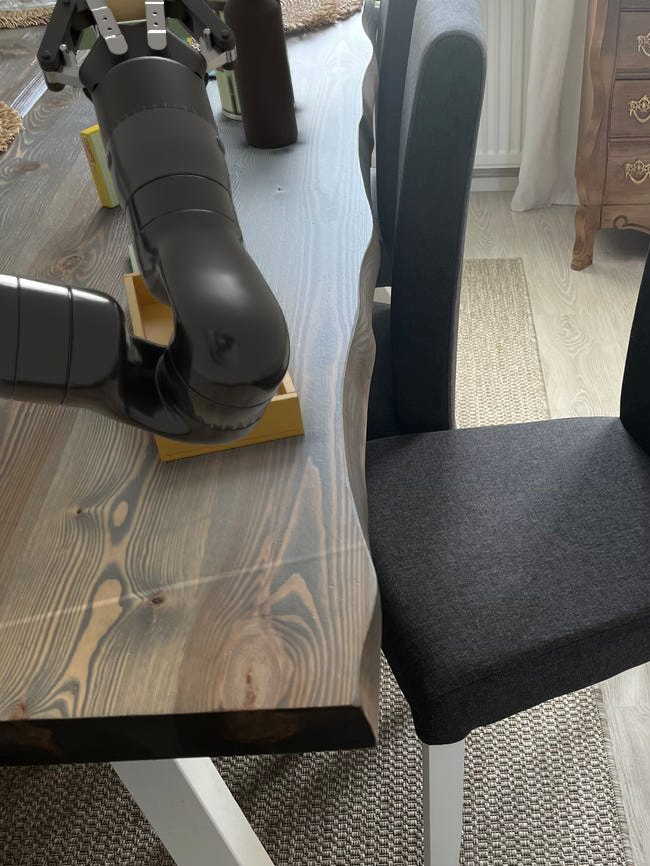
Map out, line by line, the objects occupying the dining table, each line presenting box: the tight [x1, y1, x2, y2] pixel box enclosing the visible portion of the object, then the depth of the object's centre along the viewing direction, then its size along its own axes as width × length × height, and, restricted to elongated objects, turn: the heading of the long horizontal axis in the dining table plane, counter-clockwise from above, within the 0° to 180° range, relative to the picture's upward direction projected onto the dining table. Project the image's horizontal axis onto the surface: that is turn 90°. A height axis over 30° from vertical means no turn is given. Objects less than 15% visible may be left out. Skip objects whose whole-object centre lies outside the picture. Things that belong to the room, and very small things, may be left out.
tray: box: [122, 272, 305, 463], centre depth 89 cm, size 28×12×4 cm, turn 19°
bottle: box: [223, 0, 299, 149], centre depth 124 cm, size 7×7×20 cm
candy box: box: [79, 123, 120, 209], centre depth 118 cm, size 16×2×8 cm, turn 150°
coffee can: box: [203, 0, 297, 122], centre depth 134 cm, size 10×10×14 cm
